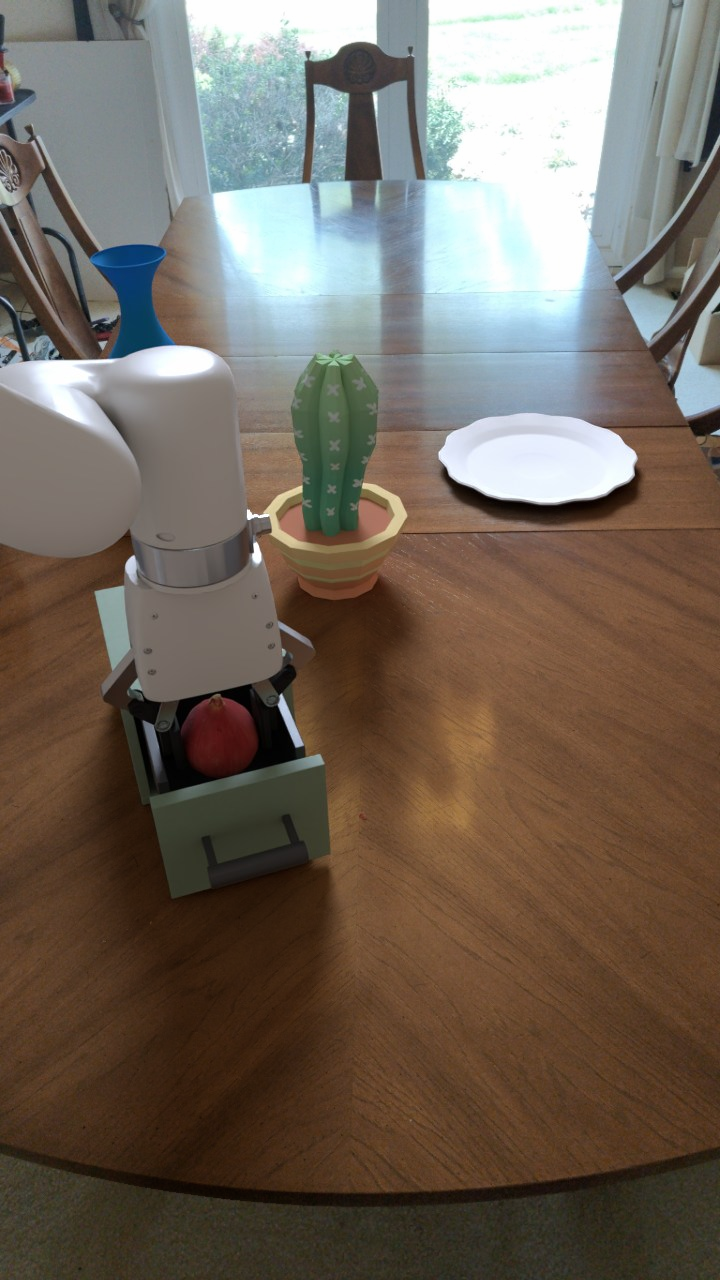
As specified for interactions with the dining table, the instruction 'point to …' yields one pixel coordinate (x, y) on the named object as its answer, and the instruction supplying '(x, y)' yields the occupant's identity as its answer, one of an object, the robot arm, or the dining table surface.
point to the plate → (538, 459)
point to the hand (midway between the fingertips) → (220, 745)
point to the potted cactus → (335, 484)
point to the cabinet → (136, 682)
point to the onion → (219, 737)
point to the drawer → (238, 808)
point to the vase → (134, 295)
